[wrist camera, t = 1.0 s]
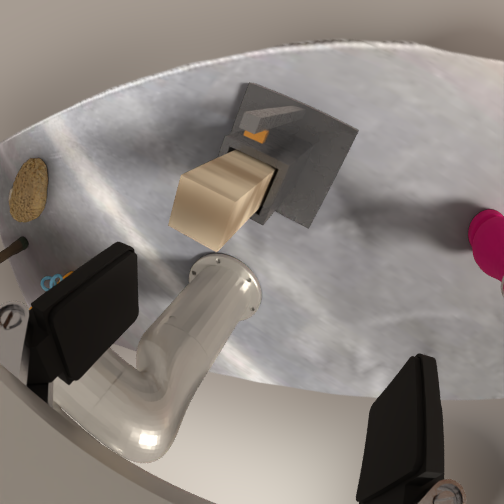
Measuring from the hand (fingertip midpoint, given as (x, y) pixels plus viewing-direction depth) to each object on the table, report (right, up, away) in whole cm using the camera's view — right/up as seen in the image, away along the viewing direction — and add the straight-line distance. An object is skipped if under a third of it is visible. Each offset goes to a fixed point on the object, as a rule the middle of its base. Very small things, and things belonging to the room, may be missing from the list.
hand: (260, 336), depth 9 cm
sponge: (-50, +18, +50) cm, 72 cm away
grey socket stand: (+4, +15, +28) cm, 32 cm away
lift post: (+3, +14, +27) cm, 31 cm away
